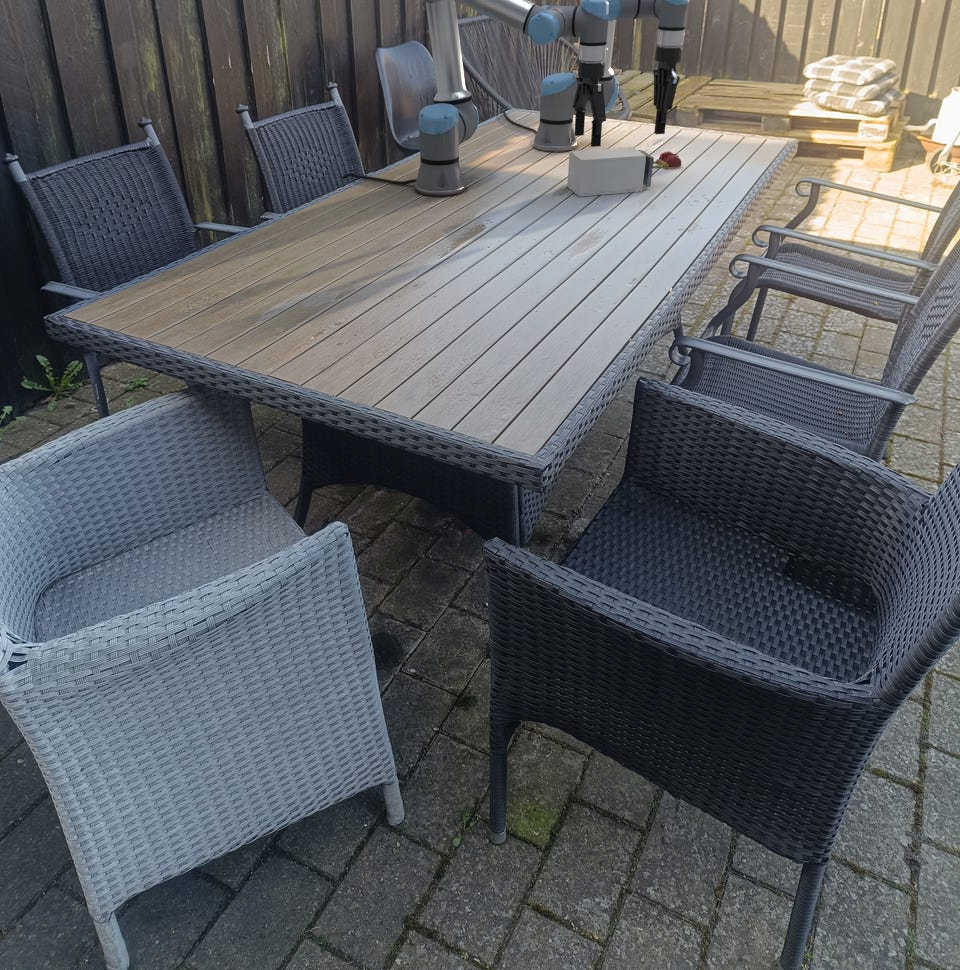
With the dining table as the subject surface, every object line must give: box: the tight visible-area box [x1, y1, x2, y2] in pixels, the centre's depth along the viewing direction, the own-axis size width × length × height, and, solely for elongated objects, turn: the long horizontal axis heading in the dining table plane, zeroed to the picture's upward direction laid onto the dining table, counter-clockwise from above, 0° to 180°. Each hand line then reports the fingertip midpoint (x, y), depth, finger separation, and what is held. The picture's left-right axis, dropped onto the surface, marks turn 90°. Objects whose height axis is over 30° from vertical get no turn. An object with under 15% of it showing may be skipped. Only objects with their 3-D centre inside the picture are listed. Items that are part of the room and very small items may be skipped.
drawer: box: [637, 149, 670, 188], centre depth 257 cm, size 26×9×9 cm, turn 105°
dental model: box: [658, 151, 682, 168], centre depth 279 cm, size 6×4×8 cm
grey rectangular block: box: [567, 146, 646, 197], centre depth 256 cm, size 20×10×11 cm, turn 105°
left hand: (587, 140), depth 249 cm, fingers open, 13 cm apart
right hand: (659, 133), depth 254 cm, fingers closed
